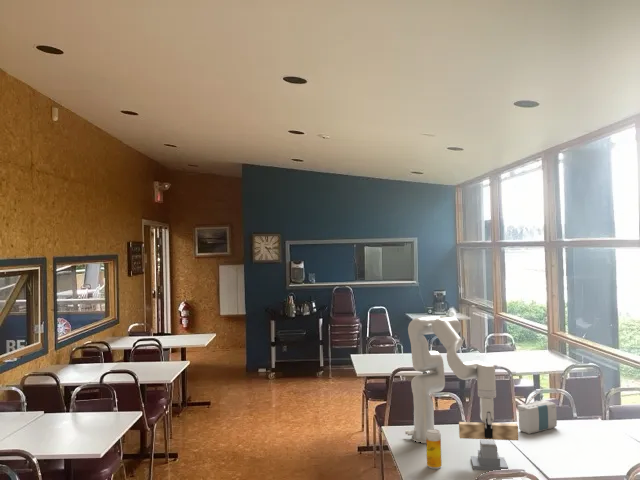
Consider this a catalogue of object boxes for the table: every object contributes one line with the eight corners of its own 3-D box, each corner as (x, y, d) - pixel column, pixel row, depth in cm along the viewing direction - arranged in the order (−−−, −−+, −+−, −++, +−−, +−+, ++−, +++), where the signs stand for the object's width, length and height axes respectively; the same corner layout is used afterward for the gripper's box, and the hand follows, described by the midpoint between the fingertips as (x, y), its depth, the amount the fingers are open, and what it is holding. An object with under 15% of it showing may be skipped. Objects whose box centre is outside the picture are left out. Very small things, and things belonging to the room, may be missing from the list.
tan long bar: (459, 438, 239) (459, 424, 239) (459, 435, 243) (458, 421, 243) (518, 440, 235) (517, 426, 235) (517, 437, 238) (516, 423, 238)
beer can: (425, 464, 240) (424, 429, 241) (439, 463, 241) (438, 428, 241) (429, 469, 234) (428, 433, 235) (443, 469, 235) (442, 432, 235)
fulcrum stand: (473, 469, 234) (472, 447, 234) (470, 459, 245) (470, 438, 246) (508, 471, 231) (507, 449, 231) (504, 460, 243) (503, 439, 243)
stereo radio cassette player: (530, 435, 277) (528, 394, 278) (516, 431, 285) (515, 391, 285) (557, 428, 288) (556, 389, 289) (544, 424, 295) (543, 386, 296)
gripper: (475, 388, 248) (477, 430, 248) (479, 397, 232) (481, 442, 231) (493, 388, 247) (494, 430, 246) (498, 397, 231) (499, 442, 230)
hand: (488, 435), depth 239 cm, fingers closed on tan long bar, 3 cm apart
